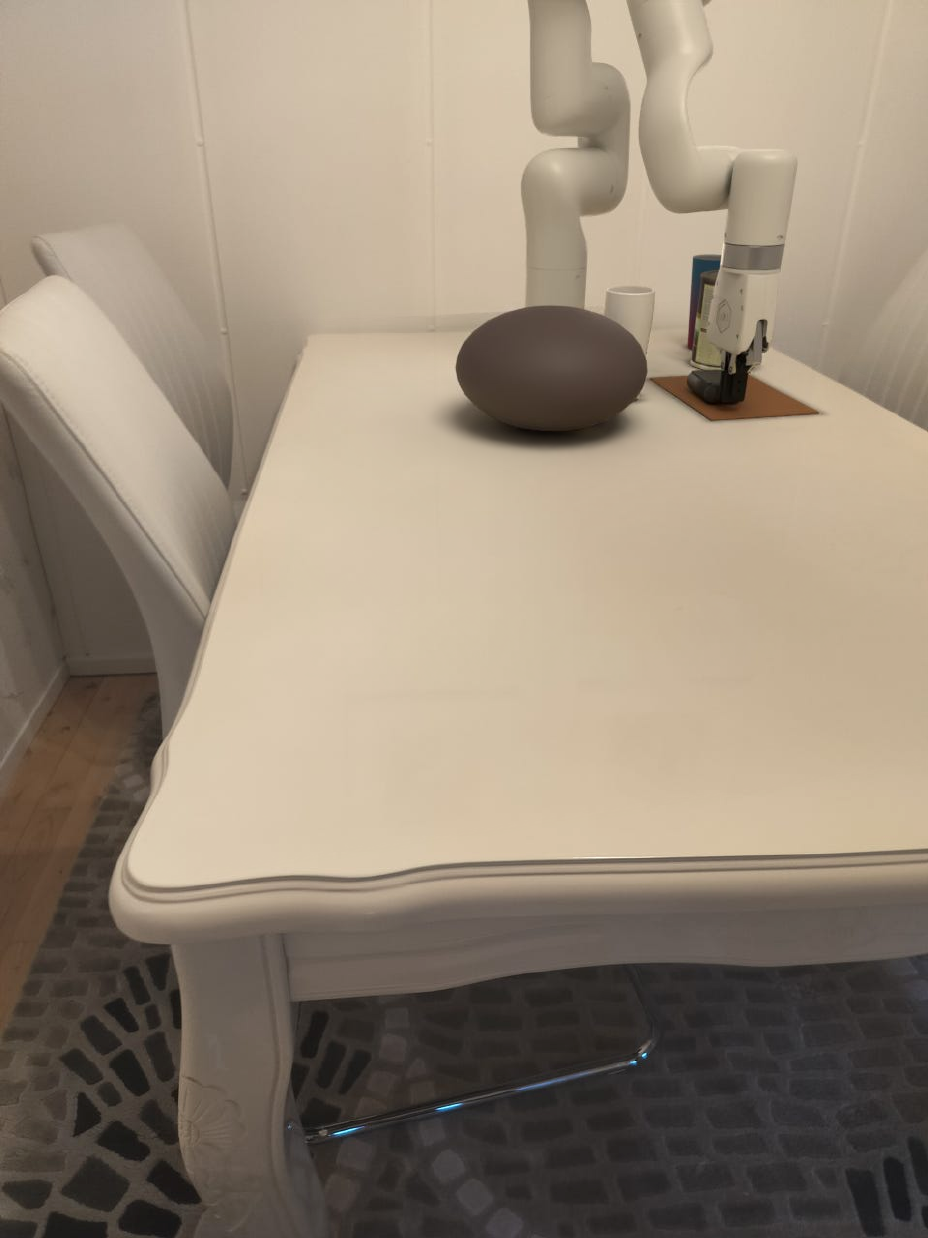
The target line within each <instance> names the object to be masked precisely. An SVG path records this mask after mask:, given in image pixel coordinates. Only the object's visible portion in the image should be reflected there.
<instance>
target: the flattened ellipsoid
mask: <svg viewBox="0 0 928 1238" xmlns="http://www.w3.org/2000/svg"><path fill="white" fill-rule="evenodd" d="M455 375H456V379H457V382H458V385H459V386H460V388H461V390H462V392H463V395H464V396H465V397H466V398H467V399H468V400H469V401H470V403H472V405H474V406H475V407H476V408H477V409H478V410H479V411H481V412H483V413H484V414H485V415H487V416H489V417H491V418H493V419H494V420H496V421H499V422H501V423H503V424H507V425H509V426H513V427H516V428H520V429H526V430H532V431H543V432H563V431H564V432H565V431H573V430H574V431H575V430H579V429H580V430H581V429H584V428H589V427H591V426H594V425H598V424H601V423H603V422H605V421H608V420H610V419H612V418H613V417H615V416H617V415H618V414H620V413H622V412H624V410H626V409H627V408H628V407H629V406H630V405H631V404H632V403H634V402H635V401H636V400H637V399H638V398H637V396H638V395H639V393H640V394H641V392H642V390H643V388H644V387H645V383H646V381H647V376H648V360H647V357H646V358H645V355H644V352H643V350H642V347H641V345H640V344H639V342H638V341H637V340H636V339H635V337H634V336H633V335H632V334H631V333H630V332H628V331H627V330H626V329H625V328H624V327H622V326H621V325H620V324H619V323H617V322H615V321H613V320H611V319H609V318H607V317H605V316H604V314H601V313H597V312H595V311H592V310H589V309H585V308H584V309H582V308H577V307H569V306H555V305H549V306H532V307H525V308H524V307H522V308H518V309H513V310H510V311H506V312H503V313H501V314H499V315H497V316H495V317H492V318H490V319H488V320H487V321H485V322H484V323H483V324H481V325H480V326H478V327H476V329H474V330H473V331H472V332H471V333H470V334H469V335H468V337H467V338H466V339H464V341H463V343H462V345H461V347H460V349H459V351H458V354H457V355H456V362H455ZM636 398H637V399H636ZM635 399H636V400H635Z"/></svg>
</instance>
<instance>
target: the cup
mask: <svg viewBox="0 0 928 1238" xmlns="http://www.w3.org/2000/svg"><path fill="white" fill-rule="evenodd" d="M721 257H722V254H715V253H714V254H712V253H711V254H710V253H708V254H696V255H693V256H692V266H691V280H690V281H691V282H690V300H689V314H688V330H687V331H688V333H687V346H686V347H687V349H689V350H691V351H692V348H693V340H694V332H695V324H696V316H697V307H698V299H699V291H700V282H701V279H700V276H701V273H703V272H706V271H711V270H720V265H721Z"/></svg>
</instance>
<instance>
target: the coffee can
mask: <svg viewBox="0 0 928 1238" xmlns="http://www.w3.org/2000/svg"><path fill="white" fill-rule="evenodd" d="M718 273H719V270H711V271H706V272H703V273H701V276H700V279H701V282H700V291H699V299H698V307H697V316H696V324H695V332H694V340H693V348H692V350H691V358H690V365H691V366H692V367H693V368H697V369H698V370H715V369H717V370H721V367H720V365H721V353H720V352H719V350H718V349H717V348H716V346H715V345H713V344H711V343H710V342H709V341H708V340H707V337H706V332H707V325H708V318H709V312H710V307H711V301H712V296H713V291H714V287H715V283H716V279H717V276H718ZM748 349H749V348H748ZM754 367H755V365H753V366H752V369H753V368H754Z"/></svg>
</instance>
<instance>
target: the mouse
mask: <svg viewBox="0 0 928 1238" xmlns="http://www.w3.org/2000/svg"><path fill="white" fill-rule="evenodd" d="M721 371H724V370H717V369H715V370H703V369H695V370H691V372H689V373H688V375H687V376H688V377H687V385H688V387H689V388H690V389H691V390H692V391H694V392H695V393H696V394H697V395H699V396H700V397H701V398H702V399H704V400H705V401H706V402H708V403H709V404H718V403H720V402H721V400H719V399H718V393H719V386H720V379H721ZM734 403H737V402H732V403H731V404H734Z"/></svg>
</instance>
